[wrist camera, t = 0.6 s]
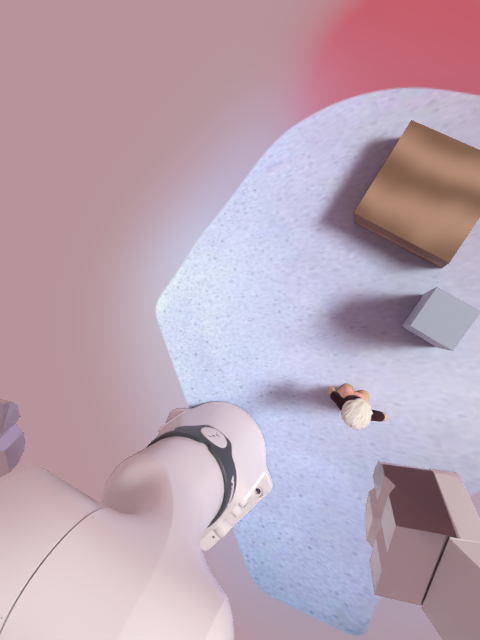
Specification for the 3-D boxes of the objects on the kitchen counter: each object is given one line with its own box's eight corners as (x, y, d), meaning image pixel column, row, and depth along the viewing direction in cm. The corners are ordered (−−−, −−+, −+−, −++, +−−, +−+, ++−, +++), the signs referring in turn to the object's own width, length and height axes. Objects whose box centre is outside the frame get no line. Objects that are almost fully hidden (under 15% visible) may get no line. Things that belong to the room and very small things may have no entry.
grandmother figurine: (325, 404, 56) (316, 424, 44) (331, 377, 56) (324, 391, 44) (382, 419, 54) (388, 446, 42) (388, 392, 54) (397, 410, 42)
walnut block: (441, 268, 53) (449, 262, 48) (354, 222, 56) (353, 212, 51) (500, 180, 51) (514, 165, 46) (406, 138, 55) (411, 120, 50)
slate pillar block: (435, 347, 53) (452, 350, 43) (401, 326, 54) (410, 325, 44) (458, 314, 52) (480, 311, 42) (423, 294, 53) (437, 286, 44)
